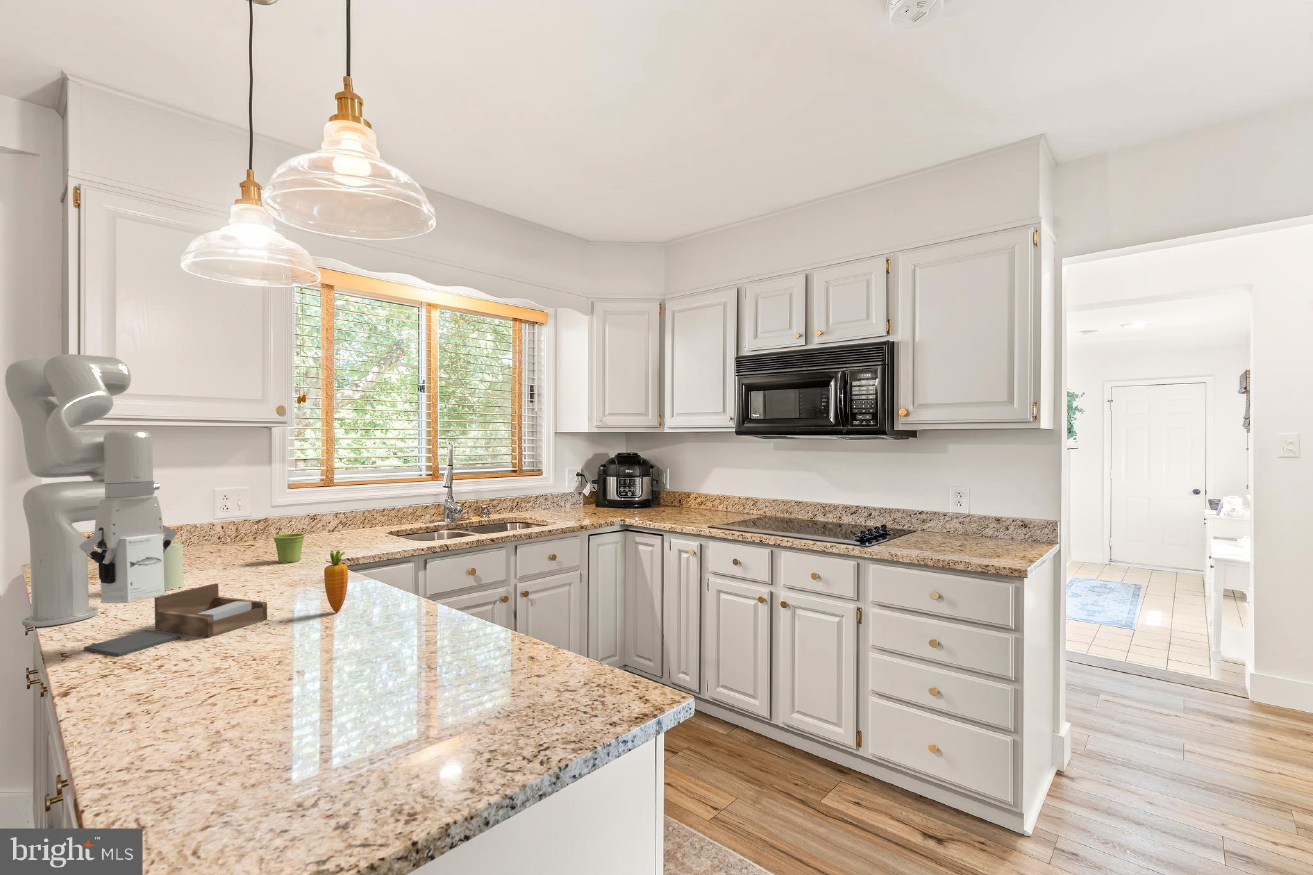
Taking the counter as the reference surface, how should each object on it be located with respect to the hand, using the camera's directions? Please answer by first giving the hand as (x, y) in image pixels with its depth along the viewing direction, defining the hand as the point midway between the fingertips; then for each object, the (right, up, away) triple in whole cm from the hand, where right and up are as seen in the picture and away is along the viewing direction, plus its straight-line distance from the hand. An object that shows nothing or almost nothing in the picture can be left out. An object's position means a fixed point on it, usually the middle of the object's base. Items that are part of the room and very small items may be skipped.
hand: (132, 577), depth 126 cm
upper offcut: (+12, -11, +10) cm, 19 cm away
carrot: (+31, -13, +20) cm, 39 cm away
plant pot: (-16, -13, +80) cm, 83 cm away
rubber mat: (0, -14, 0) cm, 14 cm away
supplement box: (+1, -5, 0) cm, 5 cm away
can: (-31, -14, +46) cm, 57 cm away
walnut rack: (+7, -13, +12) cm, 20 cm away
